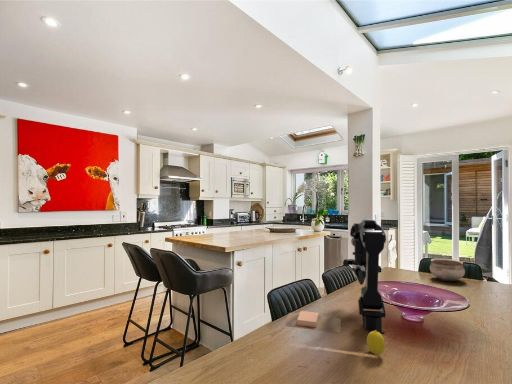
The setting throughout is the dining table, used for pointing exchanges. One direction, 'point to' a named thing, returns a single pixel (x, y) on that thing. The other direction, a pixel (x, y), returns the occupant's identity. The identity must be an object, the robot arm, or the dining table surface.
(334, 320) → the board
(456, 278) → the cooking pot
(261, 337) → the dining table surface
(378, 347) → the lemon
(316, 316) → the tile
